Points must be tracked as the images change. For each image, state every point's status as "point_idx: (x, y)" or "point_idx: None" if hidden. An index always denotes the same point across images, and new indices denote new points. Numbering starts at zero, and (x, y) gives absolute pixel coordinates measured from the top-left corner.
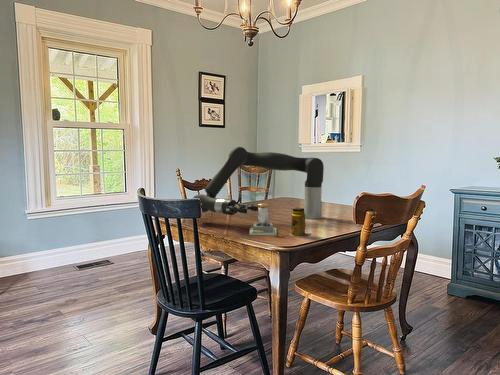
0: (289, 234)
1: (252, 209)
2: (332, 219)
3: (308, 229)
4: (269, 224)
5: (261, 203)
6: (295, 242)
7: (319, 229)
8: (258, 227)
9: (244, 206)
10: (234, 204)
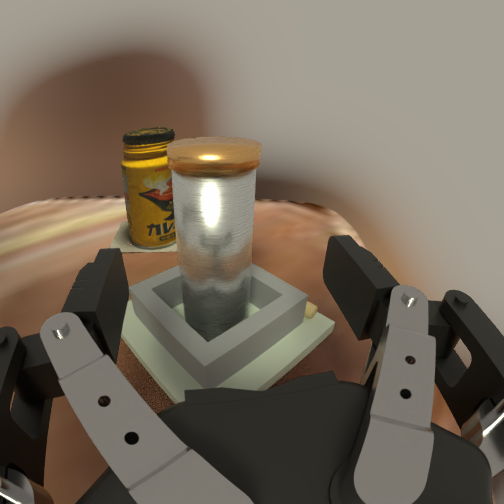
0: (170, 250)
1: (114, 333)
2: None
3: (48, 252)
4: (153, 294)
5: (190, 151)
6: (257, 210)
7: (39, 237)
8: (281, 284)
9: (38, 493)
10: (423, 485)
